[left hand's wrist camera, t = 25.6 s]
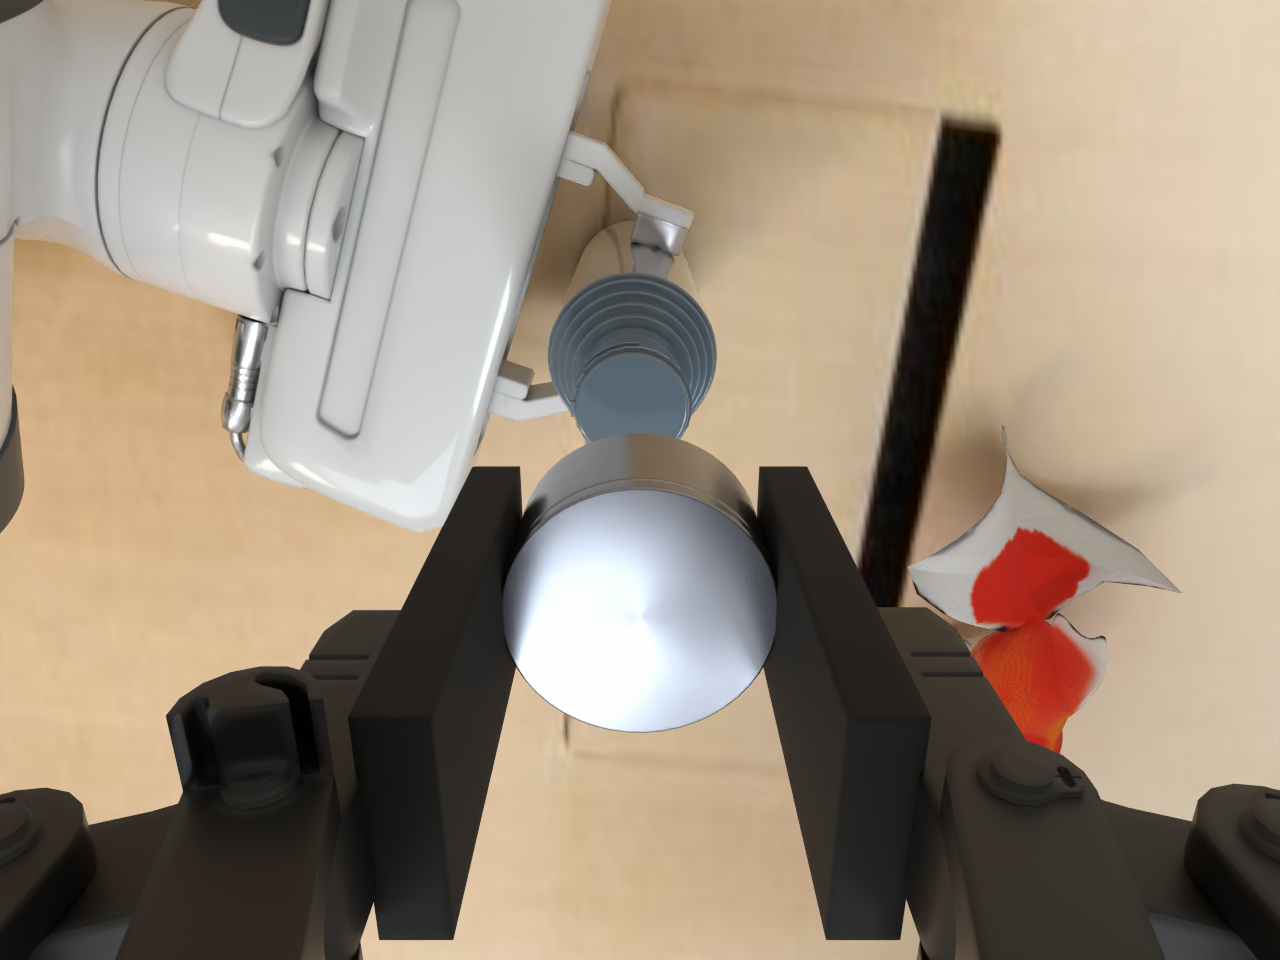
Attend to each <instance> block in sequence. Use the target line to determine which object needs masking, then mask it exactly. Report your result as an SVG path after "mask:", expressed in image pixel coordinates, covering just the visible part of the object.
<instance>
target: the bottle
mask: <svg viewBox="0 0 1280 960" xmlns="http://www.w3.org/2000/svg"><path fill="white" fill-rule="evenodd" d="M634 221H635V220H630V221H622V222H618V223H615V224H612V225H610V226H608V227H606V228H604V229H603V230H601V231H600V232H598V233H597V234H596V235H595V236H594V237H593V238H592V239H591V240H590V242H589V243H588V244H587V246H586V247H585V249H584V251H583V253H582V255H581V258H580V260H579V263H578V265H577V268H576V270H575V273H574V275H573V278H572V280H571V283H570V285H569V288H568V290H567V293H566V295H565V298H564V300H563V303H562V305H561V308H560V310H559V313H558V315H557V318H556V320H555V323H554V325H553V328H552V332H551V335H550V340H549V346H548V363H549V370H550V375H551V379H552V381H553V384H554V387H555V389H556V391H557V393H558V395H559V396H560V398H561V400H562V402H563V403H564V404H565V406H566V407H567V408H568V410H569V411H570V412H571V417H574V418H575V421H576V424H577V427H578V428H579V430H580V432H581V434H582V435H583V437H584V438H585V440H586V441H587V442H588V443H591V442H594V441H597V440H600V439H602V438H607V437H611V436H615V435H621V434H632V433H647V434H657V435H664V436H669V437H673V438H676V439H681V437H682V435H683V434H684V432H685V430H686V429H687V427H688V425H689V421H690V418H691V415H692V414H693V413H694V412H695V411H696V410H697V408H698V407H699V406H700V404H701V403H702V401H703V400H704V398H705V396H706V394H707V393H708V391H709V389H710V386H711V384H712V381H713V378H714V374H715V369H716V360H717V350H716V342H715V336H714V333H713V330H712V327H711V324H710V321H709V318H708V316H707V313H706V310H705V308H704V305H703V302H702V300H701V297H700V294H699V291H698V289H697V286H696V283H695V281H694V278H693V275H692V273H691V270H690V267H689V265H688V262H687V259H686V257H685V254H684V252H683V250H681V253H680V256H674V255H671V254H668V253H665V252H663V251H661V250H660V248H659V247H658V246H657V245H653V246H645V245H642V244H639V243H637V242H634V241H631V240H630V237H631V236H630V234H631V231H632V228H633V224H634Z"/></svg>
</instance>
